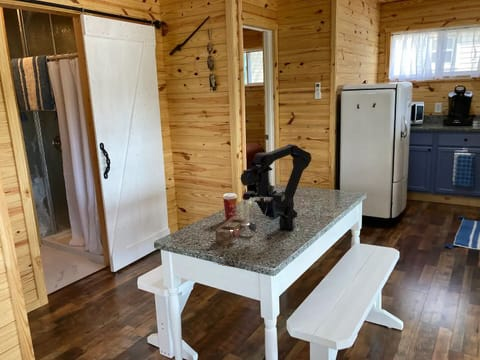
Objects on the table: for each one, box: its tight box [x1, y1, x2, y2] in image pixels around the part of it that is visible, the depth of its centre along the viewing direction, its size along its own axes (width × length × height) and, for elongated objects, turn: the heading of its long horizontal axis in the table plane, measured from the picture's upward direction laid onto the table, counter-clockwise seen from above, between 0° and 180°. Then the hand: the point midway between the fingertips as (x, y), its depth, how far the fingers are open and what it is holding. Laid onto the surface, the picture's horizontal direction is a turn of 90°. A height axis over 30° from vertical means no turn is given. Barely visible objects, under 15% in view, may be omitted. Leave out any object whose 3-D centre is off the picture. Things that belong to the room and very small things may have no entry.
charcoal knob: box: [239, 221, 258, 232], centre depth 186 cm, size 8×4×4 cm, turn 66°
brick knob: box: [223, 229, 241, 239], centre depth 179 cm, size 8×4×4 cm, turn 66°
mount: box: [215, 216, 247, 246], centre depth 185 cm, size 6×20×6 cm, turn 156°
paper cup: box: [222, 192, 238, 222], centre depth 206 cm, size 8×8×14 cm
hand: (264, 214), depth 181 cm, fingers closed
